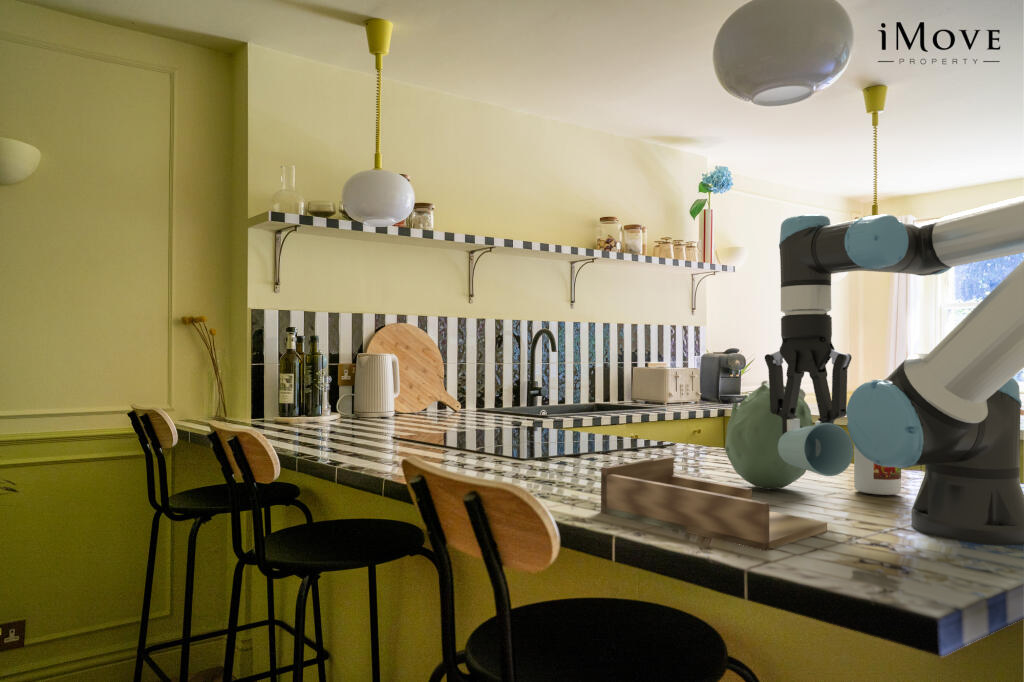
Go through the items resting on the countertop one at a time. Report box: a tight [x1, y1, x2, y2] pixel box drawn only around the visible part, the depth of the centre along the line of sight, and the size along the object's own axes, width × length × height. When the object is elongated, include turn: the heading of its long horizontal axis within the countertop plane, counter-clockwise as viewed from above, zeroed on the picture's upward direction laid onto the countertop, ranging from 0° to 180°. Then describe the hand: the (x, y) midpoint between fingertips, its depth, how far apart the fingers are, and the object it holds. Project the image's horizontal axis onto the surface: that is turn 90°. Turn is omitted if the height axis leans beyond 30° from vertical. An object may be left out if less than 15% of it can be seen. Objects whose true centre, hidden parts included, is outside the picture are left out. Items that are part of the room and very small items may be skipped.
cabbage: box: [724, 379, 814, 490], centre depth 137 cm, size 16×19×20 cm
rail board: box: [600, 456, 828, 551], centre depth 110 cm, size 28×17×8 cm, turn 41°
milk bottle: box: [853, 444, 902, 496], centre depth 134 cm, size 8×8×20 cm
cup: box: [778, 423, 854, 477], centre depth 111 cm, size 8×8×10 cm
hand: (807, 460), depth 116 cm, fingers closed on cup, 4 cm apart
